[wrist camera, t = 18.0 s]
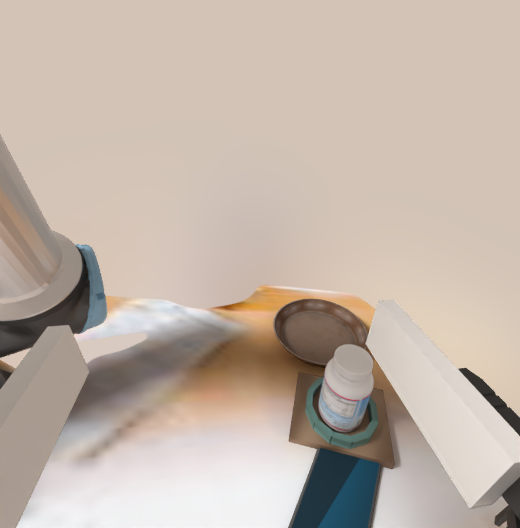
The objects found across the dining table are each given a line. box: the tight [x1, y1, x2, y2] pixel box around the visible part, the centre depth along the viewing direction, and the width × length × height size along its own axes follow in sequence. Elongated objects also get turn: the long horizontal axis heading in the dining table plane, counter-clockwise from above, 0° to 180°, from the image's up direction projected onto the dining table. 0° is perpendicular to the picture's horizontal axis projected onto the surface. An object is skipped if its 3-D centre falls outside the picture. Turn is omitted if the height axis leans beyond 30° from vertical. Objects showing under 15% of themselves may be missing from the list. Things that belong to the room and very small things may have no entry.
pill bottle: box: [318, 344, 374, 432], centre depth 36 cm, size 6×6×11 cm
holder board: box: [289, 372, 395, 469], centre depth 39 cm, size 13×10×3 cm
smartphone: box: [288, 448, 382, 528], centre depth 31 cm, size 8×15×1 cm, turn 149°
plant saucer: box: [273, 299, 368, 367], centre depth 53 cm, size 18×18×3 cm
